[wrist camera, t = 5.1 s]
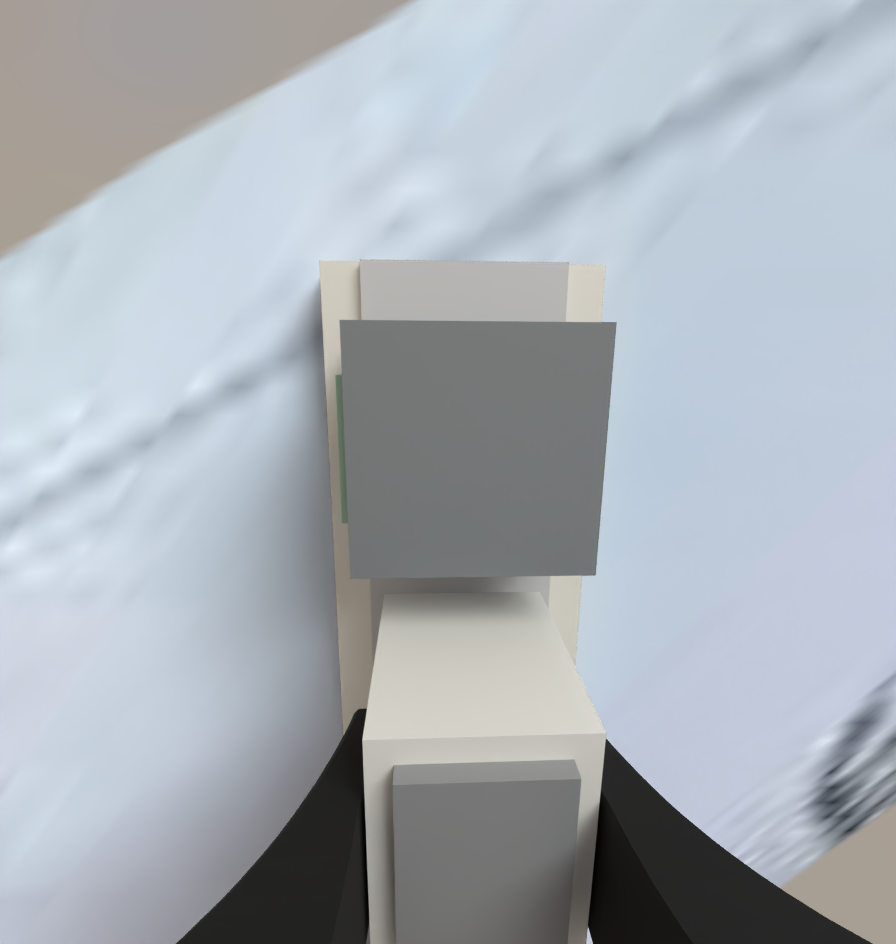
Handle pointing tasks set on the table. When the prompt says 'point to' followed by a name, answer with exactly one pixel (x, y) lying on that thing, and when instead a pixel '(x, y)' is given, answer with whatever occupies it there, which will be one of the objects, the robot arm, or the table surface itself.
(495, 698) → the module block
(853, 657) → the table surface
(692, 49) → the table surface
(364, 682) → the board
